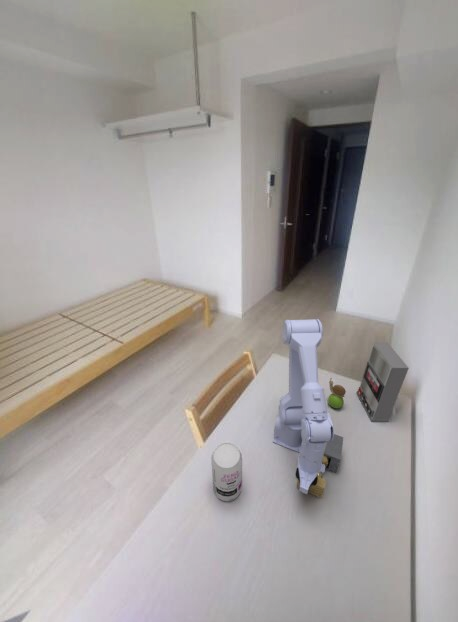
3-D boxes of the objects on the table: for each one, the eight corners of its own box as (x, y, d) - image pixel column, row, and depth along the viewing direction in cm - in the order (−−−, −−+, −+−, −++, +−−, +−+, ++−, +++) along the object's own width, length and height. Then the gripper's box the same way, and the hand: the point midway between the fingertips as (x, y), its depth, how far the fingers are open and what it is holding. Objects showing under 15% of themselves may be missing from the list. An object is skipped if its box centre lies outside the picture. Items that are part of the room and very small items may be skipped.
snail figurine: (327, 397, 107) (332, 373, 101) (343, 404, 103) (350, 380, 98) (322, 405, 103) (327, 382, 97) (339, 413, 100) (346, 389, 94)
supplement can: (227, 467, 83) (226, 435, 75) (247, 487, 77) (248, 454, 70) (207, 486, 78) (204, 454, 70) (227, 509, 72) (226, 477, 65)
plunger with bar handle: (296, 487, 77) (298, 476, 75) (306, 443, 89) (308, 432, 87) (321, 498, 74) (324, 487, 72) (328, 451, 86) (331, 440, 84)
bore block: (302, 460, 84) (305, 446, 81) (307, 439, 90) (310, 425, 87) (336, 474, 80) (340, 459, 77) (339, 451, 87) (343, 437, 83)
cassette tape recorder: (355, 393, 108) (370, 342, 96) (371, 393, 108) (387, 342, 96) (370, 422, 96) (389, 368, 84) (387, 422, 96) (409, 368, 84)
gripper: (323, 485, 62) (315, 515, 69) (331, 435, 74) (323, 464, 80) (293, 472, 65) (288, 502, 72) (305, 426, 77) (300, 455, 83)
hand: (305, 481), depth 76 cm, fingers closed on plunger with bar handle, 2 cm apart
